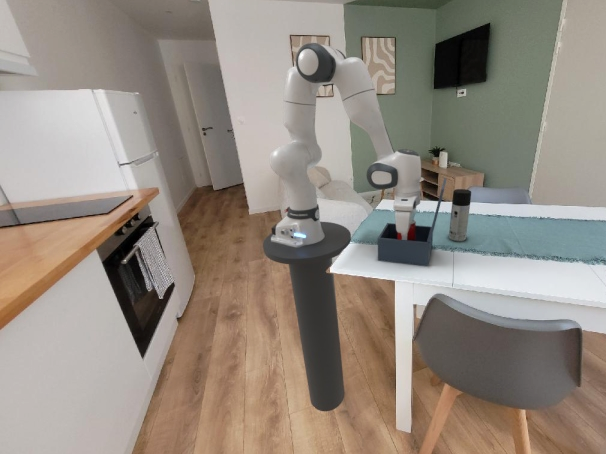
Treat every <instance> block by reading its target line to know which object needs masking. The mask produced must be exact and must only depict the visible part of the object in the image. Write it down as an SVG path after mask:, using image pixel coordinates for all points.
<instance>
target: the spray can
mask: <svg viewBox="0 0 606 454" xmlns="http://www.w3.org/2000/svg"><path fill="white" fill-rule="evenodd" d="M471 200H472V191H471V190H470V189H466V188H464V189H463V188H458V189H454V190H453V191H452V201H451V209H450V210H451V211H450V219H449V220H450V221H449V231H448V232H449V233H448V238H449V240H451V241H453V242H457V243H461V242H464V241H466V238H467V233H468V225H469V217H470V208H471Z"/></svg>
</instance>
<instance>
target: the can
mask: <svg viewBox="0 0 606 454" xmlns="http://www.w3.org/2000/svg"><path fill="white" fill-rule="evenodd" d="M416 222H417V221H416V220H415V219H413V221H412V223H411V226H410V228H409V231H408V233H407V235H408V239H407V240H409V241H415V228H416V225H417V223H416ZM397 239H399V240H402V235H401V233H398V232H397Z"/></svg>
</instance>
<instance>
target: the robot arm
mask: <svg viewBox="0 0 606 454" xmlns="http://www.w3.org/2000/svg"><path fill="white" fill-rule="evenodd" d="M329 86H336V88H337V90H338V92H339V95H340V98H341V102H342V105H343V108H344V111H345V113H346V115H347V117H348V119H349V120H350V122H351V123H353V124H354V125H356V126H357V127H359V128H360V129H362V130H363V131H365V132H366V133H367V134H368V136H369V138H370V140H371V143H372V146H373V149H374V151H375V154H376V158H377V159H376V161H375V162H373V163H371V164H370V165H369V167H367V170H366V180H367V182H368V184H369V185H370V186H371V187H372V188H374V189H376V190H386V189H394V201H393V207H392V209H393V211H394V219H395V224H396V230H397V232H398V233H401V235H402V240H407V239H408V235H407V233H408V231H409V228H410V226H411V223H412V221H413V220H415V217H416V214H417V206H418V205H420V204H421V192H422V188H421V179H422V159H421V157H420V154H419V153H418V152H417V151H415V150H412V149H407V148H405V149H404V148H402V149H401V148H400V149H397V150H396V151H395V149H394V147H393V144H392V141H391V139H390V135H389V133H388V129H387V127H386V124H385V121H384V118H383V115H382V111H381V107H380V103H379V99H378V95H377V92H376V88H375V85H374V81H373V79H372V76H371V74H370V71H369V69H368V67H367V65H366V63H365V61H363V60H362V59H361V58H360V57H355V56H351V57H346V56H345V54H344V53H343V52H342V51H341V50H339V49H338V48H334V47H332V46H330V45H328V44H320V43H317V42H309V43H306V44H303V45H302V46H301V47H300V48H299V49H298V51H297V52H296V56H295V66H291V67H290V68H289V69H288V70H287V72H286V75H285V82H284V88H283V89H284V91H283V107H282V108H283V109H282V110H283V112H282V114H283V115H282V116H283V117H282V123H283V126H284V127H285V128H286V130H287V131H288V134H289V139H290V143H286V144H282V145H280V146H279V147H277V148H275V149H274V150H272V151H271V153H270V155H269V165H270V168H271V170H272V171H273V172H274V174H276V175H278V176H279V177H280V179H281V180H282V182H283V184H284V186H285V189H286V193H287V199H288V205H289V206H288V207H286V208H285V209H284V214H286V213H287V214H286V216H285V217H284V218H282V219H281V220H280V221H279V222H278V223H275V224H274V225H273V226H272V227H271V228H270V230H271V233H272V234H274V235H273V236H272V237H271V241H272V242H276V243H280V244H284V245H288V246H292V247H296V248H298V247H302V246H304V245H310V244H314V243H317V242H319V241H321V240H322V239H324V237H325V235H324V233H323V230H322V227H321V223H320V222H321V219H320V207H319V203H318V196H317V189H316V185H315V184H314V183H313V182H312V181H311V180H310V178H309V175H308V170H310V169H313V168H315V167H316V166H317V165H318V164H319V163H320V161H321V160H322V157H323V151H322V148H321V147H320V145H319V144H318V140H317V135H316V134H317V133H316V111H317V110H316V109H317V94H318V91H319V89H320V87H329Z"/></svg>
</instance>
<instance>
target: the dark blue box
mask: <svg viewBox="0 0 606 454" xmlns="http://www.w3.org/2000/svg"><path fill="white" fill-rule="evenodd" d="M431 228H432V226H431V225H430V226H428V225H417V224H416V228H415V241H409V240H399V239H397V230H396V223H392V222H386V224H385V225H384V228H382V230H381V232H380V234H379V236H378V237H377V261H380V262H387V263H397V264H405V265H412V266H413V265H414V266H421V267H429V262H430V259H431V253H432V249H433V236H434V233H433V234H432V238H431V242H428V240H429V236H430V232H431Z"/></svg>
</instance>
